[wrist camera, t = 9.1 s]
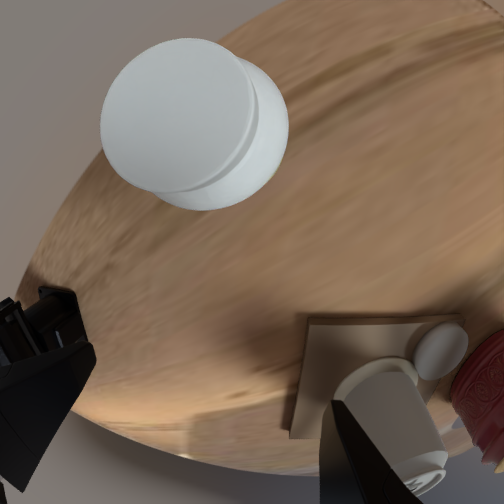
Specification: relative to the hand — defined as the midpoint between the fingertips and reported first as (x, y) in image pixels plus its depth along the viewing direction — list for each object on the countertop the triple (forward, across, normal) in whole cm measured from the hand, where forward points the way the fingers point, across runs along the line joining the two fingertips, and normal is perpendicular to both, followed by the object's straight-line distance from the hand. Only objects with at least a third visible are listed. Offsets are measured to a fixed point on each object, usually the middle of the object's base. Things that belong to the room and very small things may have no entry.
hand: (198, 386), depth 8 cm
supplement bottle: (+13, +2, -8) cm, 16 cm away
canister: (+15, -32, +11) cm, 37 cm away
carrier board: (+14, -14, +11) cm, 22 cm away
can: (+12, -14, +11) cm, 21 cm away
